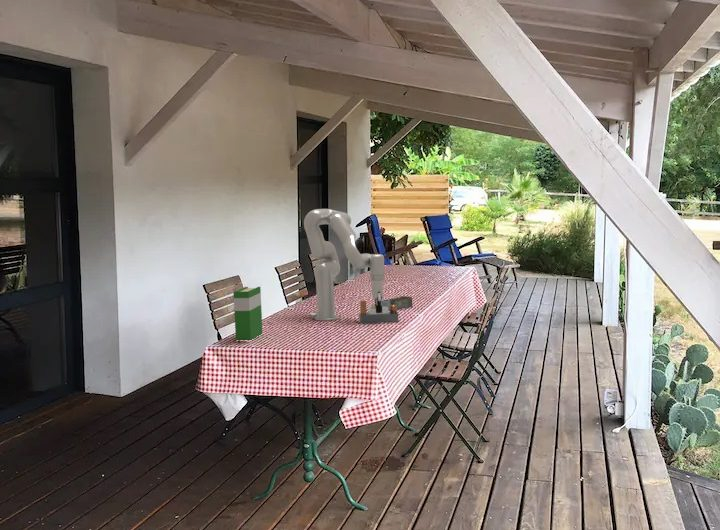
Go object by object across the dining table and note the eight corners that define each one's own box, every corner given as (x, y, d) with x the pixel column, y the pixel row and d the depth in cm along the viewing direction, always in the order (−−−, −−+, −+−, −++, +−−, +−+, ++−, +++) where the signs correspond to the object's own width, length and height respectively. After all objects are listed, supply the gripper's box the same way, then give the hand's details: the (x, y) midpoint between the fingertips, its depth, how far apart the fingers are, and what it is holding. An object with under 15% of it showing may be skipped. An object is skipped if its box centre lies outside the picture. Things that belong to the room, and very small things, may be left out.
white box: (369, 314, 374) (369, 306, 373) (368, 313, 379) (368, 304, 378) (388, 313, 375) (388, 305, 374) (387, 312, 380) (387, 303, 379)
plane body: (360, 323, 373) (359, 302, 372) (359, 321, 380) (358, 300, 379) (398, 322, 375) (397, 300, 373) (396, 319, 381) (396, 298, 380)
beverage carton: (380, 310, 414) (380, 299, 413) (403, 306, 427) (403, 295, 427) (390, 311, 408) (390, 300, 408) (413, 307, 422) (413, 296, 421)
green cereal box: (248, 334, 354) (245, 286, 352) (262, 334, 353) (260, 286, 350) (236, 342, 337) (233, 291, 334) (251, 342, 335) (248, 291, 333)
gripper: (368, 276, 383) (369, 309, 385) (372, 280, 366) (373, 315, 368) (382, 275, 384) (383, 309, 385) (386, 279, 367) (387, 314, 369)
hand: (378, 311), depth 377 cm, fingers closed on white box, 5 cm apart
